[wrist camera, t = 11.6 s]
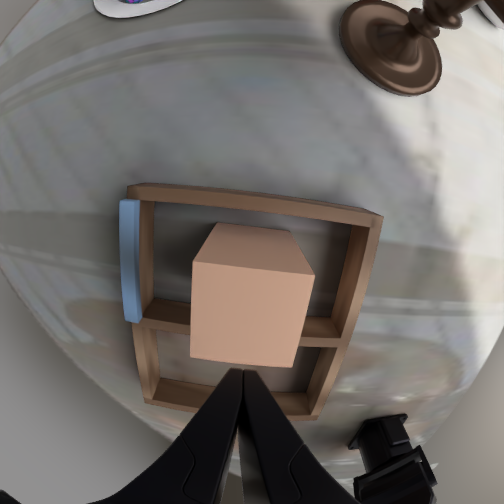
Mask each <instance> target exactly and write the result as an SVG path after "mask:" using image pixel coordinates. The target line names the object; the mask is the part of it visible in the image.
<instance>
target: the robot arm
mask: <svg viewBox="0 0 504 504" xmlns="http://www.w3.org/2000/svg"><path fill="white" fill-rule="evenodd" d="M407 418H408V416H407V414H403V415H398V416H392V417H386V418H380V419H373V420H367V421H365V422H364V424H363V425H362V427H361V428H360V430H359V431H358V433H357V434H356V436H355V437H354V439H353V440H352V441H351V443H350V444H349V446H348V449H349V450H353V449H359V450H360V453H361V457H362V460H363V463H364V466H365V470H366V474H364V475H361V476H359V477H358V476H357V477H355V478H354V483H353V486H354V495H355V498H354V497H353V496H352V495H351V494H349V493H348V492H347V491H346V490H345V489H344V488H343V487H342V486H341V485H340V484H339V483H338V482H337V481H336V480H335V479H334V478H333V477H332V476H331V475H330V474H329V473H328V472H327V471H326V470H325V469H324V468H323V467H322V465H321V464H320V463H319V462H318V460H317V459H316V458H315V457H314V455H313V454H312V453H311V451H310V450H309V448H308V447H307V446H306V445H305V444H304V442H303V440H302V439H301V437H300V436H299V434H298V433H297V431H296V430H295V429H294V427H293V426H292V424H291V423H290V421H289V420H288V418H287V417H286V415H285V414H284V412H283V411H282V409H281V408H280V406H279V405H278V403H277V402H276V400H275V399H274V397H273V395H272V394H271V392H270V391H269V389H268V388H267V386H266V385H265V383H264V381H263V380H262V378H261V377H260V375H259V373H258V372H257V371H256V370H251V369H244V370H242V369H240V368H230V369H229V370H228V371H227V373H226V374H225V375H224V377H223V378H222V379H221V381H220V382H219V384H218V385H217V386H216V388H215V389H214V390H213V392H212V393H211V394H210V396H209V397H208V398H207V400H206V401H205V402H204V404H203V405H202V406H201V408H200V409H199V410H198V411H197V413H196V414H195V415H194V417H193V418H192V419H191V420H190V422H189V423H188V424H187V426H186V427H185V428H184V429H183V431H182V432H181V433H180V436H178V437H177V438H176V439H175V440H174V442H173V443H172V444H171V445H170V446H169V448H168V449H167V450H166V451H165V452H164V453H163V454H162V455H161V456H160V457H159V458H158V459H157V460H156V461H155V462H154V463H153V464H152V465H151V466H149V467H148V468H147V469H146V470H145V471H144V472H142V473H141V474H140V475H139V476H137V477H136V478H135V479H134V480H133V481H131V482H130V483H129V484H128V485H127V486H125V487H124V488H122V489H121V490H120V491H118V492H117V493H115V494H114V495H112V496H110V497H108V498H105V499H103V500H99V501H96V502H92V503H88V504H220V503H221V499H222V495H223V491H224V487H225V482H226V478H227V474H228V470H229V465H230V461H231V457H232V452H233V448H234V443H235V439H236V434H237V428H238V442H239V454H240V466H241V476H242V486H243V496H244V504H436V500H437V499H436V497H435V494H434V491H433V489H432V487H433V486H435V485H437V481H436V479H435V476H434V474H433V472H432V470H431V467H430V465H429V463H428V461H427V459H426V457H425V455H424V452H423V450H422V448H421V446H420V445H418V446H417V447H416V448H415V449H413V448H412V446H411V444H410V442H409V440H410V439H409V436H408V434H407V432H406V430H405V428H404V426H403V423H404V422H405V421H406V419H407ZM421 460H422V462H419V461H421ZM0 504H21V503H20V502H18V501H17V500H16V499H14V498H13V497H12V496H10V495H9V494H8V493H6V492H5V491H4V490H0Z"/></svg>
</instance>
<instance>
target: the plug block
mask: <svg viewBox="0 0 504 504" xmlns="http://www.w3.org/2000/svg"><path fill="white" fill-rule="evenodd" d="M314 278H315V274H314V273H313V271H312V269H311V267H310V265H309V264H308V262H307V260H306V258H305V257H304V255H303V253H302V251H301V250H300V248H299V246H298V244H297V243H296V241H295V239H294V238H293V236H292V234H291V232H290V231H284V230H276V229H269V228H260V227H252V226H244V225H236V224H227V223H218V222H217V223H216V225H215V227H214V228H213V230H212V231H211V233H210V234H209V236H208V238H207V239H206V241H205V242H204V244H203V246H202V247H201V249H200V251H199V252H198V254H197V255H196V257H195V259H194V260H193V270H192V293H191V339H190V357H192V358H199V359H206V360H213V361H221V362H229V363H238V364H248V365H260V366H274V367H292V366H293V362H294V359H295V355H296V351H297V348H298V344H299V340H300V336H301V333H302V329H303V325H304V321H305V317H306V313H307V309H308V304H309V300H310V296H311V291H312V287H313V283H314Z"/></svg>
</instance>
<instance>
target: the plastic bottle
mask: <svg viewBox="0 0 504 504" xmlns="http://www.w3.org/2000/svg"><path fill="white" fill-rule="evenodd" d="M477 5H478V7H479V8H480V10H481V11H482V12H483V14H484V15H485V16H486V17H487V18H488V19H489V20H490V21H491V22H492V23H493V24H494V25H495V26H497V27H499V28H501V29H504V24H503V23H502V21H501V20H500V19H499V18H498V17H497V16H496V14H495V13H494V12H493V11H492V9H491V8H490V7H489V6H488V5H487V4H486V3H485V1H482V2H480V3H478V4H477Z"/></svg>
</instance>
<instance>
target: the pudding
mask: <svg viewBox="0 0 504 504" xmlns="http://www.w3.org/2000/svg"><path fill="white" fill-rule="evenodd" d="M93 1H94V6H95V7H96V9H97V10H98V11H99V12H100V13H102V14H104V15H106V16H109V17H116V18H127V17H134V16H140V15H144V14H148V13H152V12H155V11H158V10H161V9H164V8H166V7H169V6H171V5H173V4H176V3H178V2H180V1H182V0H154V1H150V2H146V3H140V4H126V3H122V2H120V1H118V0H93ZM141 1H143V0H126V2H128V3H139V2H141Z"/></svg>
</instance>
